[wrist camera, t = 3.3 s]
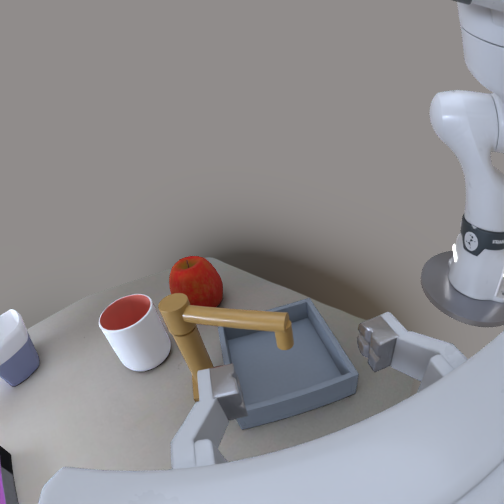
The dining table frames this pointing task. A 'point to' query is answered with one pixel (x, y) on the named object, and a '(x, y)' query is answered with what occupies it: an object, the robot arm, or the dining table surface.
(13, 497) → the book
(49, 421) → the dining table surface
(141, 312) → the cup
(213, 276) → the apple
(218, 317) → the spout
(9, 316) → the bowl
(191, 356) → the faucet base
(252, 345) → the sink
